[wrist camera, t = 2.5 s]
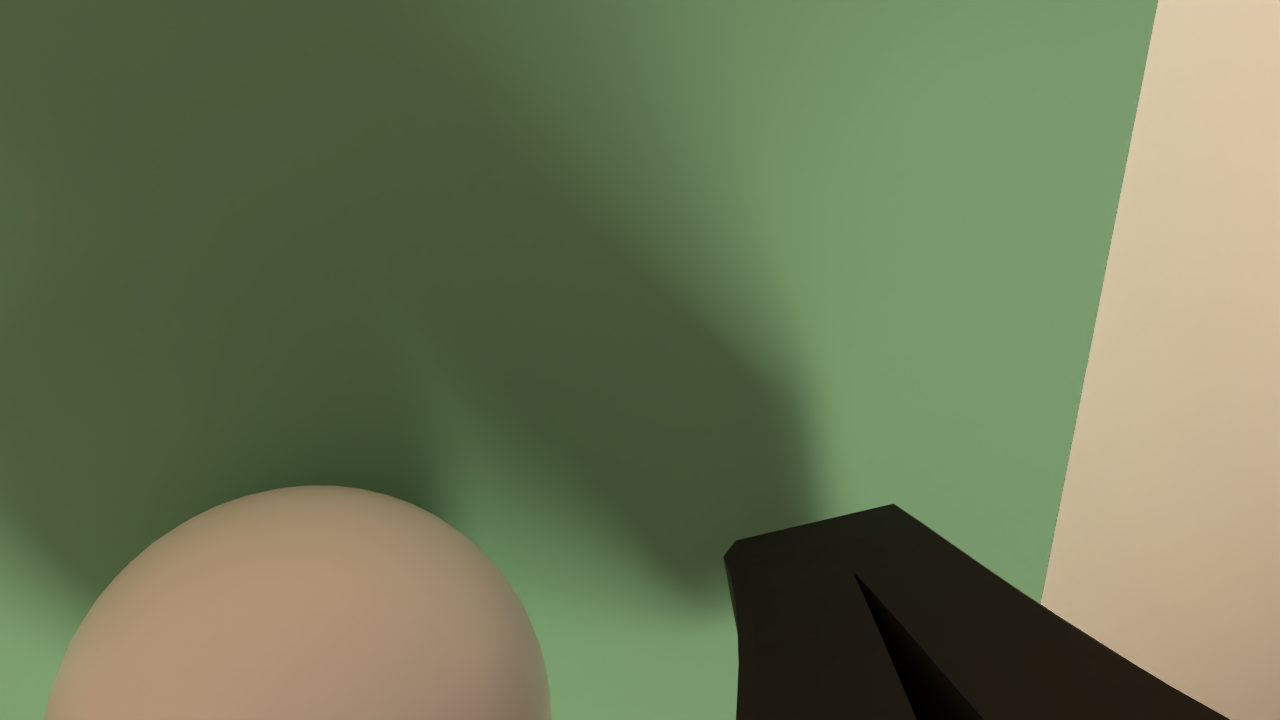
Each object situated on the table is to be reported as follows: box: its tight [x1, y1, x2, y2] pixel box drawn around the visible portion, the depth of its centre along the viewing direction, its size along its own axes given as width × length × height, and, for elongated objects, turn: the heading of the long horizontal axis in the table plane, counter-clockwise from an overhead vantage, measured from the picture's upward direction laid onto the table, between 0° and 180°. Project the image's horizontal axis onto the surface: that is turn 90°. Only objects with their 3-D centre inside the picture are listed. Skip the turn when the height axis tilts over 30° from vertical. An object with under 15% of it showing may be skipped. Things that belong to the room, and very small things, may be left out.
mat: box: [0, 0, 1158, 720], centre depth 10 cm, size 17×10×2 cm, turn 88°
